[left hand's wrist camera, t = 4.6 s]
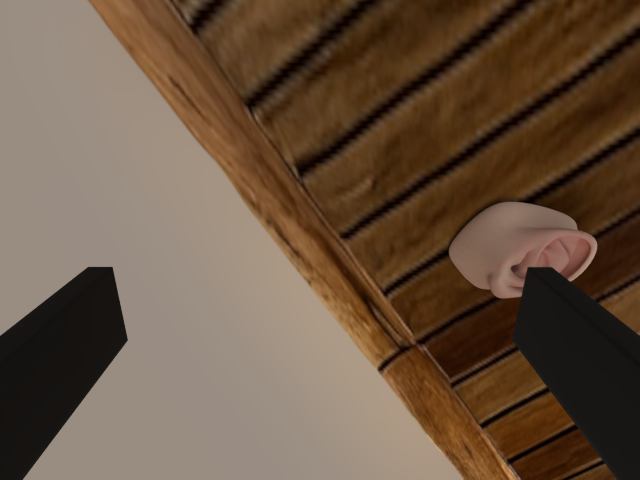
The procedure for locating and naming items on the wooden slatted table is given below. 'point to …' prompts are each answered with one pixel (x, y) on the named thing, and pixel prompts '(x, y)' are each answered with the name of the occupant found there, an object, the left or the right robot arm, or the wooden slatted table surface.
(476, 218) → the anatomical model
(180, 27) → the wooden slatted table surface
